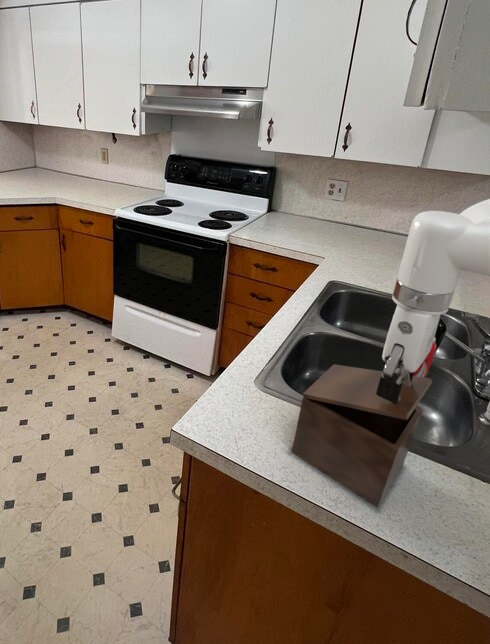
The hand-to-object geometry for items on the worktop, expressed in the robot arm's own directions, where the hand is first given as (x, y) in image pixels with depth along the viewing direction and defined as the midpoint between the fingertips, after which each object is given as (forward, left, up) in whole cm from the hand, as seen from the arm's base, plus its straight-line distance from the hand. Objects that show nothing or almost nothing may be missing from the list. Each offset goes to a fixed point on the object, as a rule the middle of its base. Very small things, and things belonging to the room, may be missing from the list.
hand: (394, 387), depth 71 cm
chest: (+4, 0, -20) cm, 20 cm away
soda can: (+4, -36, -20) cm, 41 cm away
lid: (+4, 0, -3) cm, 5 cm away
